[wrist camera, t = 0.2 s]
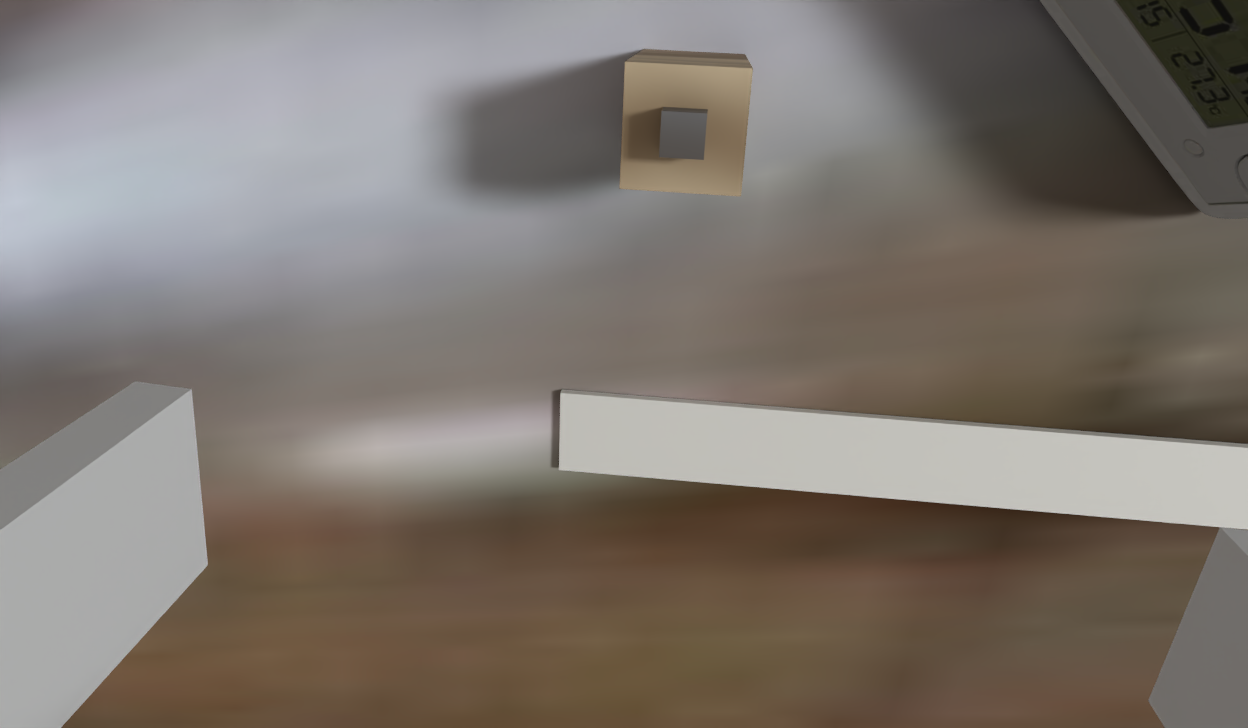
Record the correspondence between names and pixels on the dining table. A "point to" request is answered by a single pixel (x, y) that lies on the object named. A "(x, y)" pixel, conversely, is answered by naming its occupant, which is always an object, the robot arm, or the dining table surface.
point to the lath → (906, 458)
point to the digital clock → (1175, 85)
